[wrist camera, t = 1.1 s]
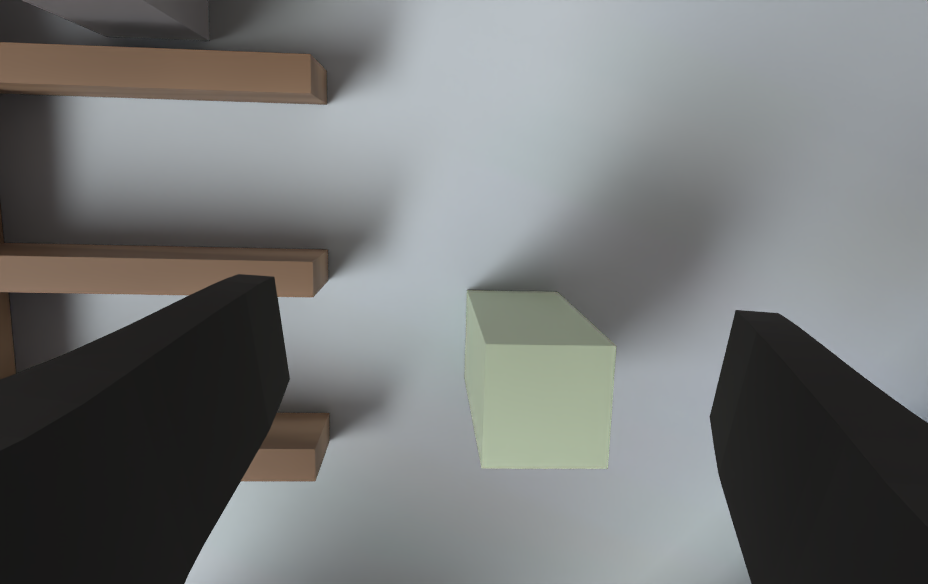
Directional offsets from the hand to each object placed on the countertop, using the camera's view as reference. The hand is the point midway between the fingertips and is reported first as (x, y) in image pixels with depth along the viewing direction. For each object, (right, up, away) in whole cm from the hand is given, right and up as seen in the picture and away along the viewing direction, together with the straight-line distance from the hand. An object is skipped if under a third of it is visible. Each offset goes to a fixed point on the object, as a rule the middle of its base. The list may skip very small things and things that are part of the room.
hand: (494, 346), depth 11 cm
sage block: (+1, -1, +12) cm, 12 cm away
